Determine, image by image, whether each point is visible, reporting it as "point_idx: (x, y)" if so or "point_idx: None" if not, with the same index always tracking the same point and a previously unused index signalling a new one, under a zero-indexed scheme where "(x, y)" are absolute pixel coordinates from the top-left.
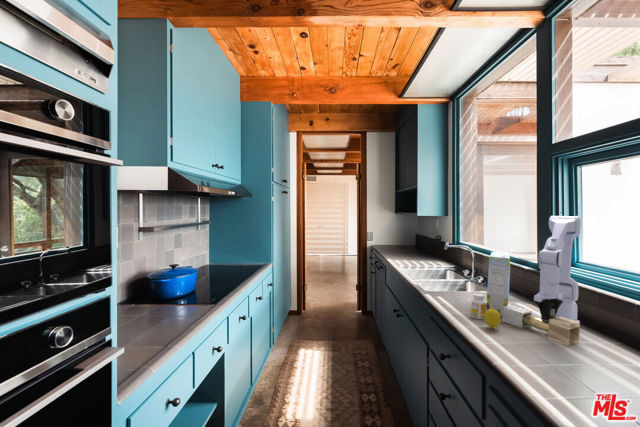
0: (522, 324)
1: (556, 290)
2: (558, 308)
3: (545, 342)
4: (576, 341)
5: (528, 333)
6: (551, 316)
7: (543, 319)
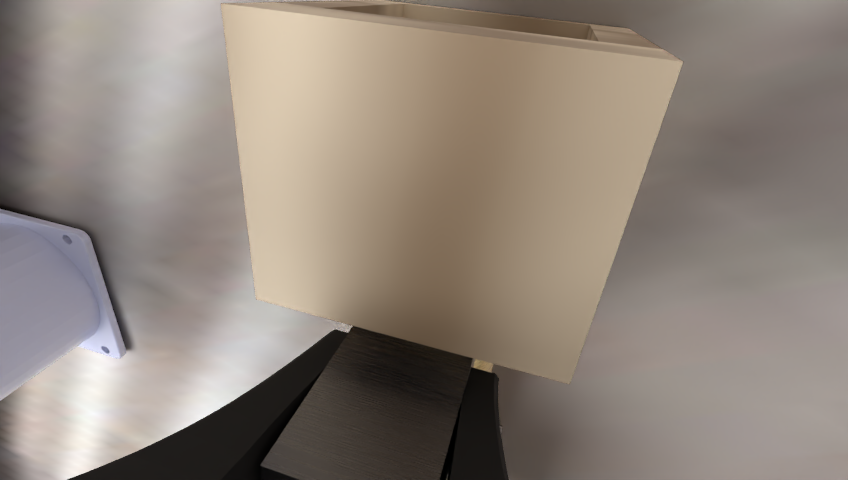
0: None
1: None
2: (190, 427)
3: (752, 213)
4: (428, 7)
5: (592, 372)
6: (423, 387)
7: None
